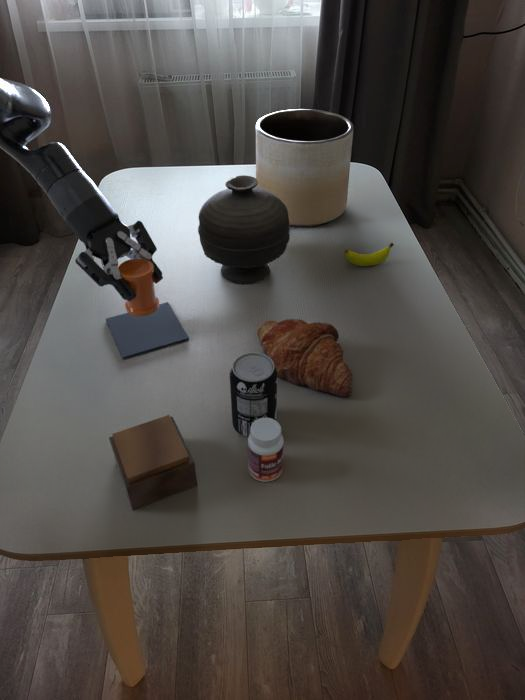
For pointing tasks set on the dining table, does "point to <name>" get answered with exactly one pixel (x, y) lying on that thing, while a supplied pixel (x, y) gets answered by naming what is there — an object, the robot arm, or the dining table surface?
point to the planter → (305, 162)
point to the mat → (146, 331)
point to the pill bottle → (265, 450)
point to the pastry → (307, 355)
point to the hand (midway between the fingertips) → (146, 289)
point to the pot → (244, 230)
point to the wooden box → (153, 461)
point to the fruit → (368, 257)
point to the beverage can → (252, 390)
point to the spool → (140, 286)
